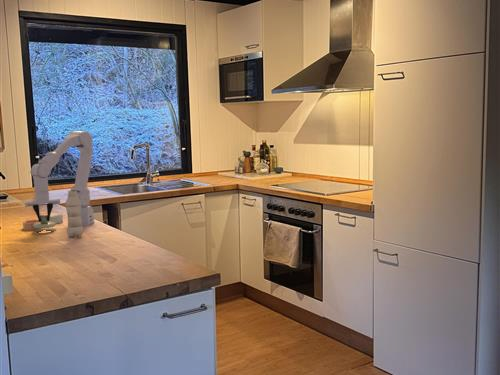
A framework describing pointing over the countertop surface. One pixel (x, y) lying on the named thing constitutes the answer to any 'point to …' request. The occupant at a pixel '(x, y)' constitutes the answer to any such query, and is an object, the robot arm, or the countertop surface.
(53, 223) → the lid
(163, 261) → the countertop surface
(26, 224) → the bowl
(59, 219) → the skincare box
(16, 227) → the countertop surface
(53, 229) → the trivet
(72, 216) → the plastic bottle
